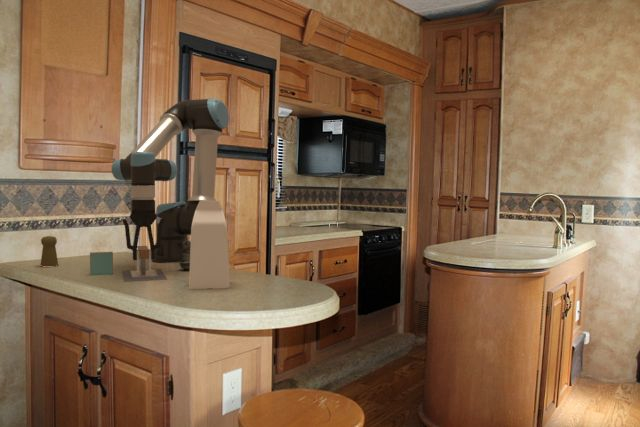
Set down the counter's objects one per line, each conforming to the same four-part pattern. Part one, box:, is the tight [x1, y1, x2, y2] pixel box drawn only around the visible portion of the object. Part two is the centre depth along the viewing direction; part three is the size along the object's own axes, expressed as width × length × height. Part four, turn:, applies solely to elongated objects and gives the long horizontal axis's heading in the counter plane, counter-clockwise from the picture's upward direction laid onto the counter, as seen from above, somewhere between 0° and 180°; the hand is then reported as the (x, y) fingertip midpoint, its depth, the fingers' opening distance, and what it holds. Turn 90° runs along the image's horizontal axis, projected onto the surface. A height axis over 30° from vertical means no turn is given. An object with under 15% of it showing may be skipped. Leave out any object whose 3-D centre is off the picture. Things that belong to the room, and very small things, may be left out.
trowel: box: [130, 245, 158, 279], centre depth 182 cm, size 15×8×9 cm, turn 22°
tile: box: [89, 251, 114, 276], centre depth 182 cm, size 7×2×8 cm, turn 112°
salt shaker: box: [178, 237, 191, 271], centre depth 192 cm, size 6×6×12 cm
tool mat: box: [121, 268, 169, 283], centre depth 182 cm, size 13×22×1 cm, turn 22°
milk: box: [188, 200, 231, 290], centre depth 168 cm, size 12×12×26 cm
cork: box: [40, 235, 59, 267], centre depth 201 cm, size 6×6×11 cm
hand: (143, 269), depth 181 cm, fingers closed on trowel, 3 cm apart
